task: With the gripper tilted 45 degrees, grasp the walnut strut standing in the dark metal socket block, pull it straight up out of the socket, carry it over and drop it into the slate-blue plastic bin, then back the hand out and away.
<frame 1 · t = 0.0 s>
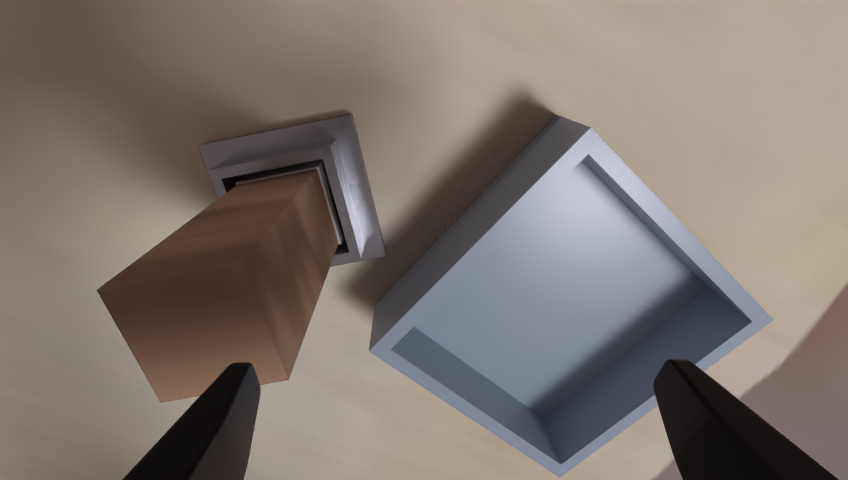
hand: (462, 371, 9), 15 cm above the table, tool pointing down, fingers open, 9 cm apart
bin: (546, 292, 27), on the table
strut: (297, 204, 23), point 1 cm above the table, touching socket block
socket block: (299, 201, 24), on the table
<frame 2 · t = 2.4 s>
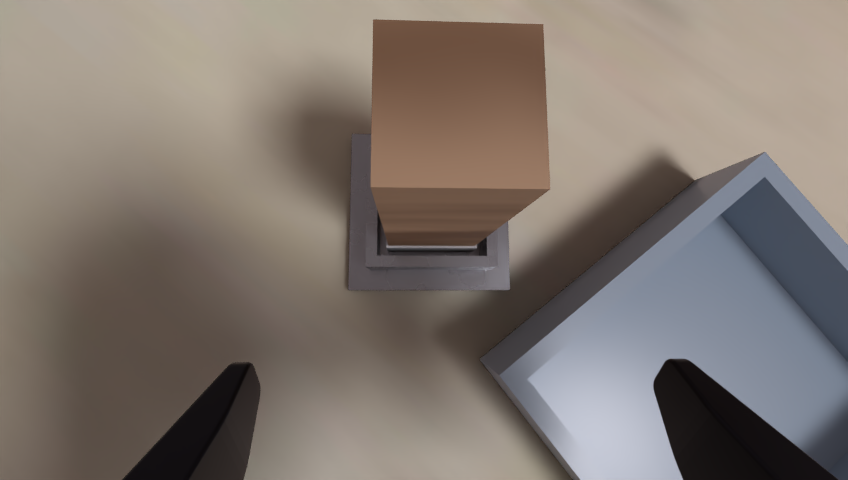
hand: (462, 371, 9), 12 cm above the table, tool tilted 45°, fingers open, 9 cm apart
bin: (688, 384, 22), on the table
strut: (429, 210, 22), point 1 cm above the table, touching socket block
socket block: (428, 212, 22), on the table
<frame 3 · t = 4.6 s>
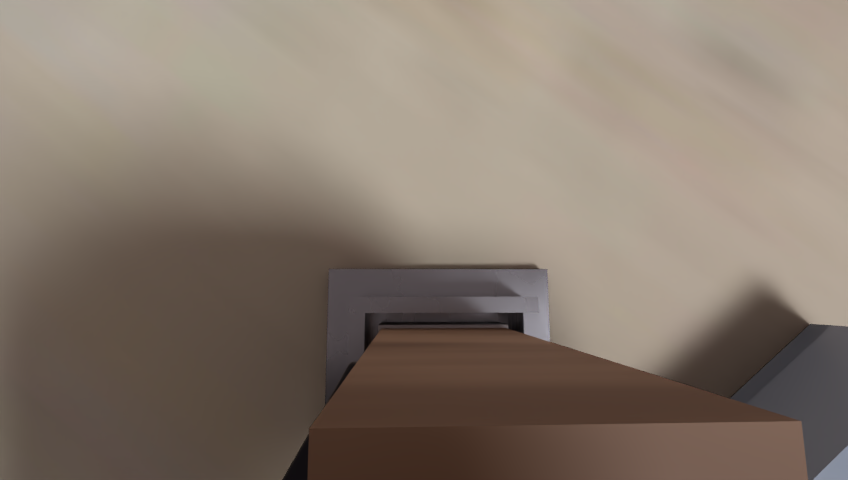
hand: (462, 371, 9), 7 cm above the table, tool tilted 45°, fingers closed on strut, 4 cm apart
strut: (440, 382, 15), point 1 cm above the table, touching gripper, socket block
socket block: (438, 379, 16), on the table
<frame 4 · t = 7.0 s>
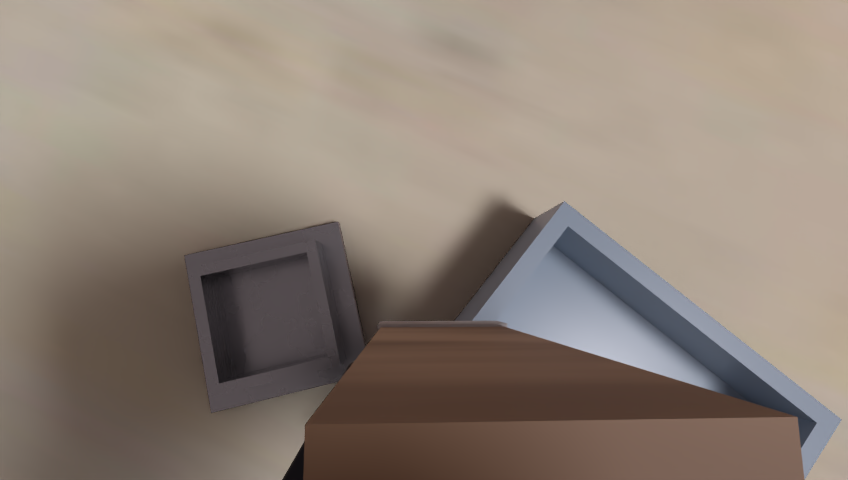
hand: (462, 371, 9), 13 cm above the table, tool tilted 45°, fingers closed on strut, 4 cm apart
bin: (562, 419, 22), on the table
strut: (439, 381, 15), point 7 cm above the table, touching gripper
socket block: (280, 313, 22), on the table
when the fingers open (8 cm above the table, at t = 9.4 s): strut drops 1 cm, resting on bin.
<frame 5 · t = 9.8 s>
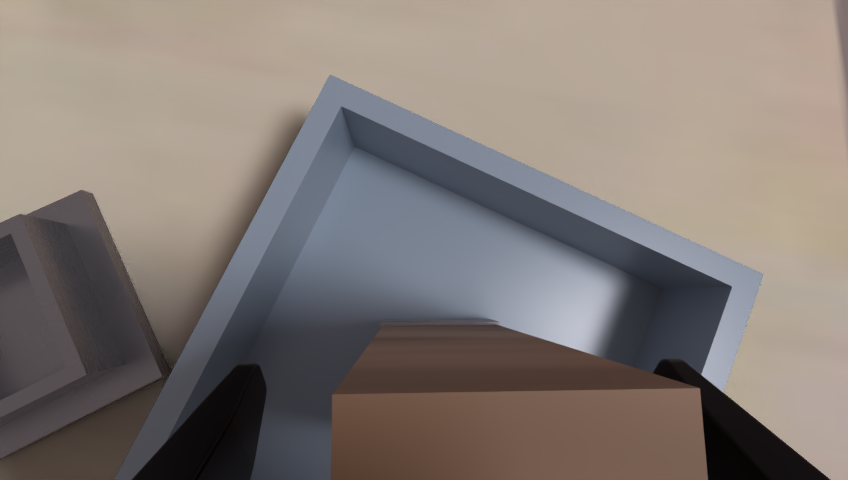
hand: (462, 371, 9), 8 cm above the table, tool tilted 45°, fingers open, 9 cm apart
bin: (435, 372, 17), on the table
strut: (437, 375, 16), point 1 cm above the table, touching bin
socket block: (32, 328, 17), on the table
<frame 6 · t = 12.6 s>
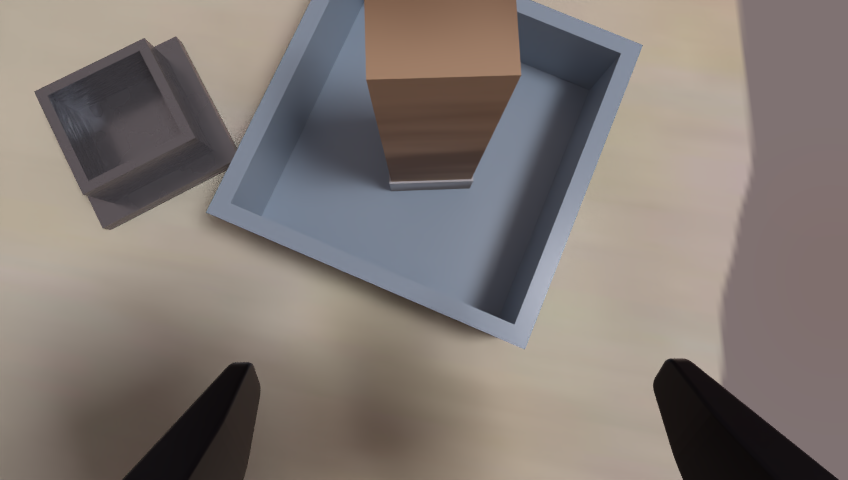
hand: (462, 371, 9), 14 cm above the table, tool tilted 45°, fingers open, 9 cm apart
bin: (428, 156, 24), on the table
strut: (429, 152, 23), point 1 cm above the table, touching bin
socket block: (147, 133, 24), on the table
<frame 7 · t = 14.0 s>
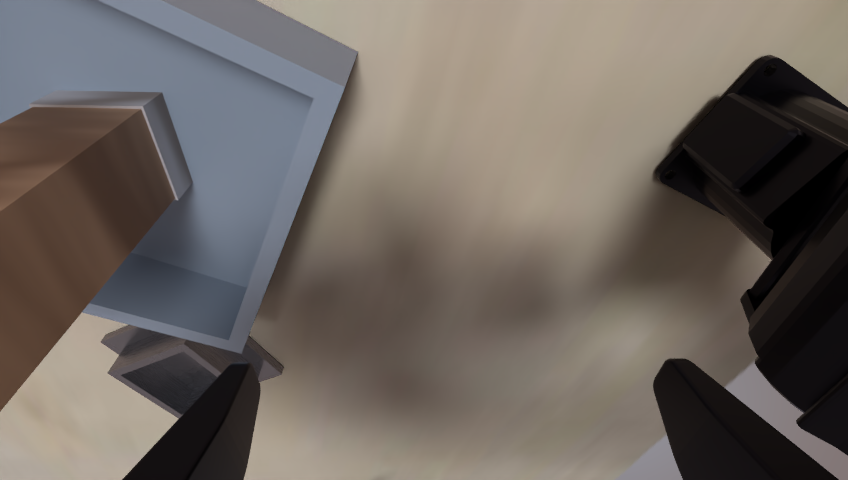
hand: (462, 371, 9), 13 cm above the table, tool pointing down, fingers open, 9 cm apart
bin: (139, 131, 19), on the table
strut: (129, 139, 19), point 1 cm above the table, touching bin
socket block: (198, 351, 29), on the table
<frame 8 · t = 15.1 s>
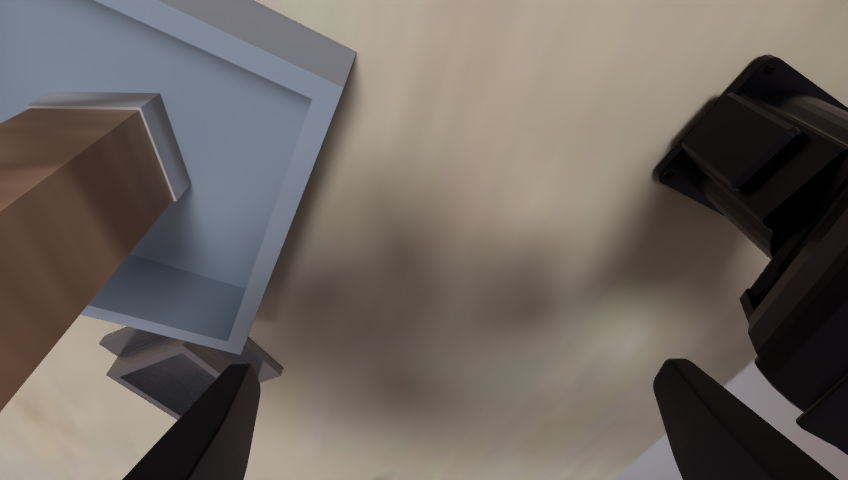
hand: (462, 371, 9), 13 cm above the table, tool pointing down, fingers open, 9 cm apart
bin: (136, 132, 19), on the table
strut: (127, 140, 19), point 1 cm above the table, touching bin
socket block: (197, 352, 29), on the table
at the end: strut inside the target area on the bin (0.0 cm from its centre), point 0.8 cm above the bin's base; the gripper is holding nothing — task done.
